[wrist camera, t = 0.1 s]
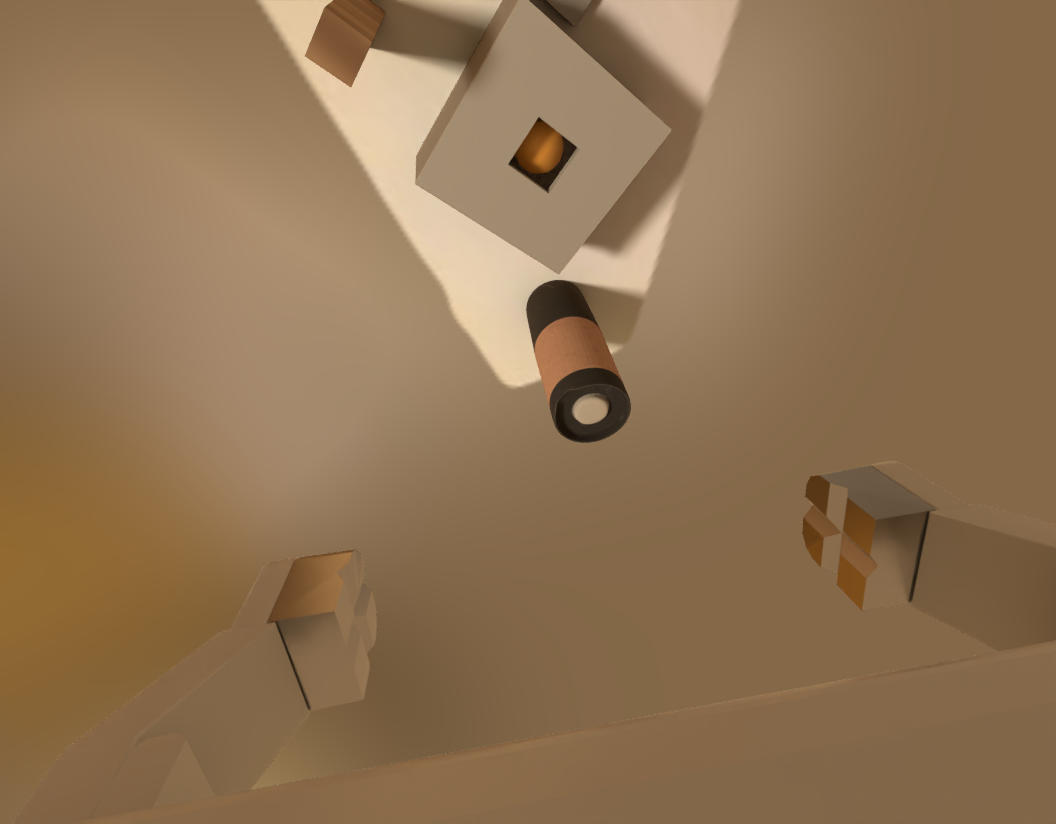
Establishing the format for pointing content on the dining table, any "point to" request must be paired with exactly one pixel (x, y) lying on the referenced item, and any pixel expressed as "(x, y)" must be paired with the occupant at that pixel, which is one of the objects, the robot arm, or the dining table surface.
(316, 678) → the robot arm
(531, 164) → the button
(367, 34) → the brown wooden bar
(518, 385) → the dining table surface
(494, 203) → the box
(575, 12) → the pad
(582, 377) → the travel mug
